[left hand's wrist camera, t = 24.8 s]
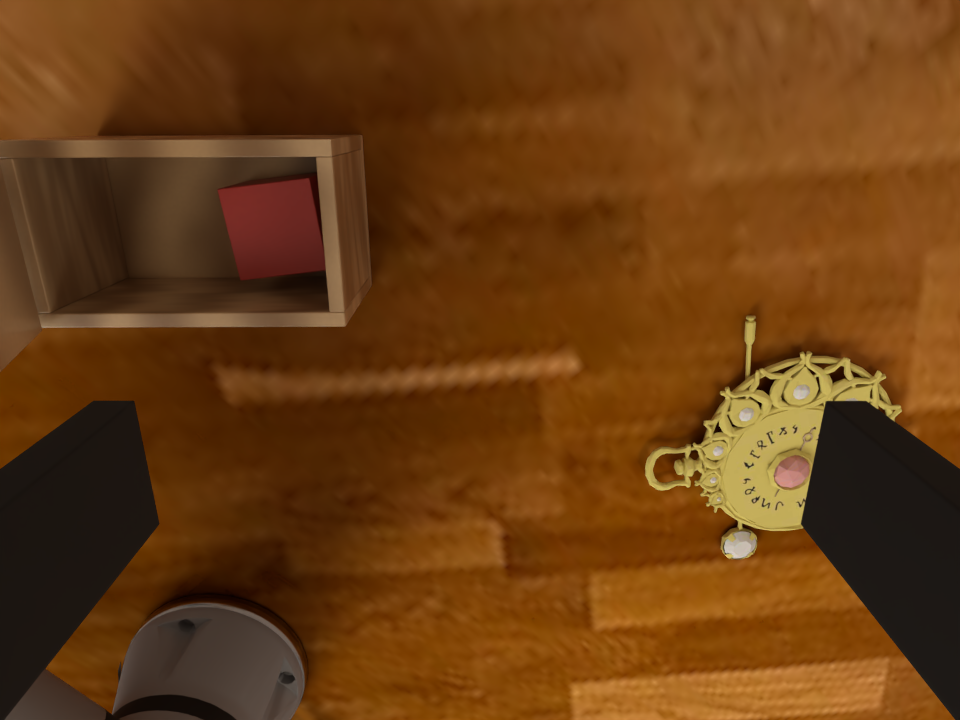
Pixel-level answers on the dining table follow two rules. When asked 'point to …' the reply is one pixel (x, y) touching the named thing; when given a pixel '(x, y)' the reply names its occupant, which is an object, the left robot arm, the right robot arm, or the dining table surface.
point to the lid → (14, 288)
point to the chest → (178, 229)
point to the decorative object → (768, 443)
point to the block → (275, 225)
